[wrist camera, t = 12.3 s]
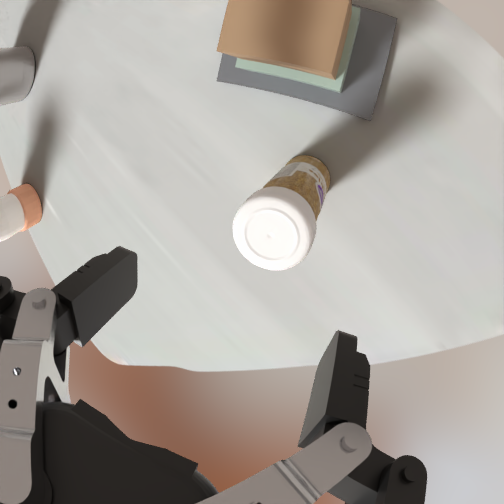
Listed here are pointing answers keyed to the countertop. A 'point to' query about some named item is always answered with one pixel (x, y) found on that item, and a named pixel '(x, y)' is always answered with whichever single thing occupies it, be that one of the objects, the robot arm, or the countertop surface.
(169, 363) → the countertop surface
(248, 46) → the walnut brick
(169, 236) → the countertop surface
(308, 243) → the sprinkles bottle
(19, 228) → the salt shaker
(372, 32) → the build plate
